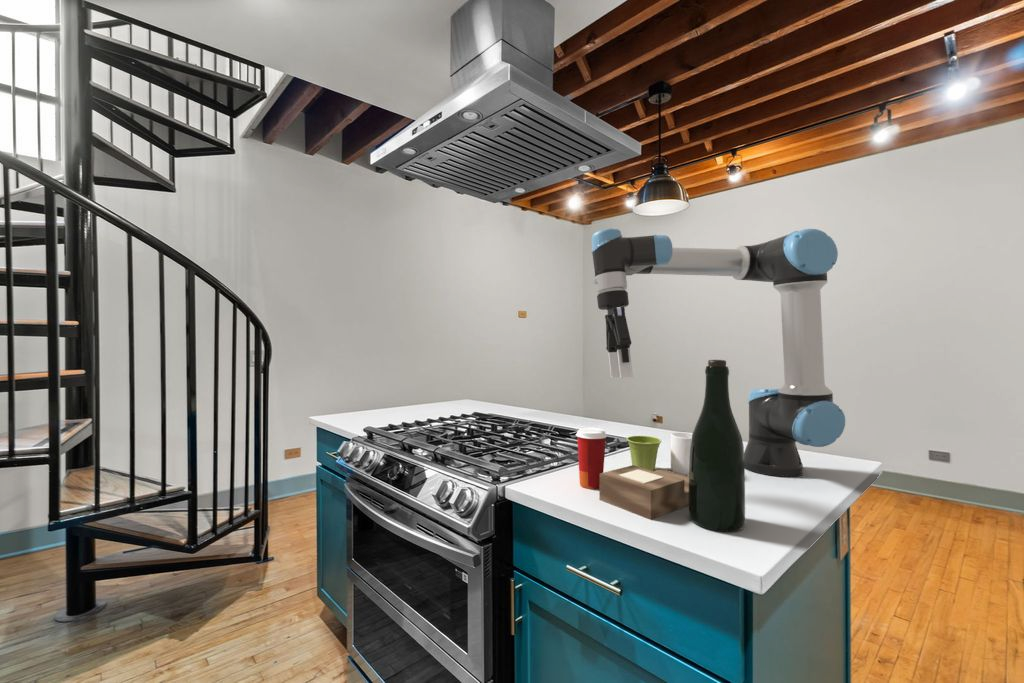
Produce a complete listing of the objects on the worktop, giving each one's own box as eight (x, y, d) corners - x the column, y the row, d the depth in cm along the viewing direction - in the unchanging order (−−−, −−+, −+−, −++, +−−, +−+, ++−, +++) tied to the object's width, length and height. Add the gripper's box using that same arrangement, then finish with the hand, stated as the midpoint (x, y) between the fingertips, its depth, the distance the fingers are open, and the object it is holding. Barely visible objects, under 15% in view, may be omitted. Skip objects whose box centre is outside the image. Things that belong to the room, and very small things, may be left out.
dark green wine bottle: (729, 512, 95) (730, 358, 95) (755, 533, 85) (757, 361, 84) (680, 511, 95) (681, 358, 95) (700, 533, 85) (701, 360, 85)
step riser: (662, 480, 117) (662, 456, 116) (713, 495, 105) (713, 469, 105) (599, 499, 102) (599, 472, 102) (650, 519, 91) (650, 489, 91)
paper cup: (609, 483, 114) (609, 428, 114) (602, 492, 107) (602, 434, 107) (580, 479, 117) (580, 426, 117) (571, 487, 110) (571, 431, 110)
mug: (714, 480, 117) (714, 441, 117) (683, 480, 116) (683, 441, 116) (694, 467, 129) (694, 432, 129) (666, 467, 128) (666, 432, 128)
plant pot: (665, 474, 122) (665, 443, 122) (631, 474, 122) (631, 442, 122) (655, 465, 131) (655, 435, 131) (623, 464, 131) (623, 435, 131)
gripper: (591, 301, 123) (599, 378, 122) (603, 283, 98) (614, 378, 97) (618, 299, 123) (626, 375, 121) (638, 279, 98) (649, 375, 96)
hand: (621, 377), depth 109 cm, fingers open, 13 cm apart
